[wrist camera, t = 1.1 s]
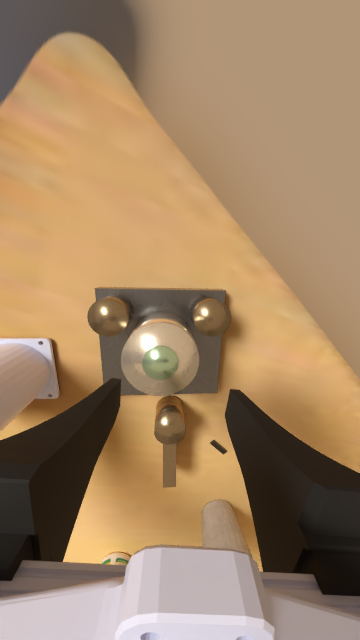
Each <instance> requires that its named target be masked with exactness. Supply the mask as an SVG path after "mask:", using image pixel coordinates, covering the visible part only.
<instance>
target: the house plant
mask: <svg viewBox="0 0 360 640" xmlns="http://www.w3.org/2000/svg"><path fill="white" fill-rule="evenodd" d="M202 542H203V547H212V548H230V549H235V550H239V551H244V552H246V553H247V554H248V555H249V556H250V557H251V558H252V555H251V553H250V551H249V548H248V546H247V543H246V541H245V538H244V536H243V533H242V531H241V529H240V526H239V524H238V521H237V519H236V516H235V514H234V512H233V509H232V507H231V505H230V503H228V502H227V501H224V500H214V501H211V502H209V503H207V504H206V505H205V506H204V508H203V510H202ZM252 559H253V558H252Z"/></svg>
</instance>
